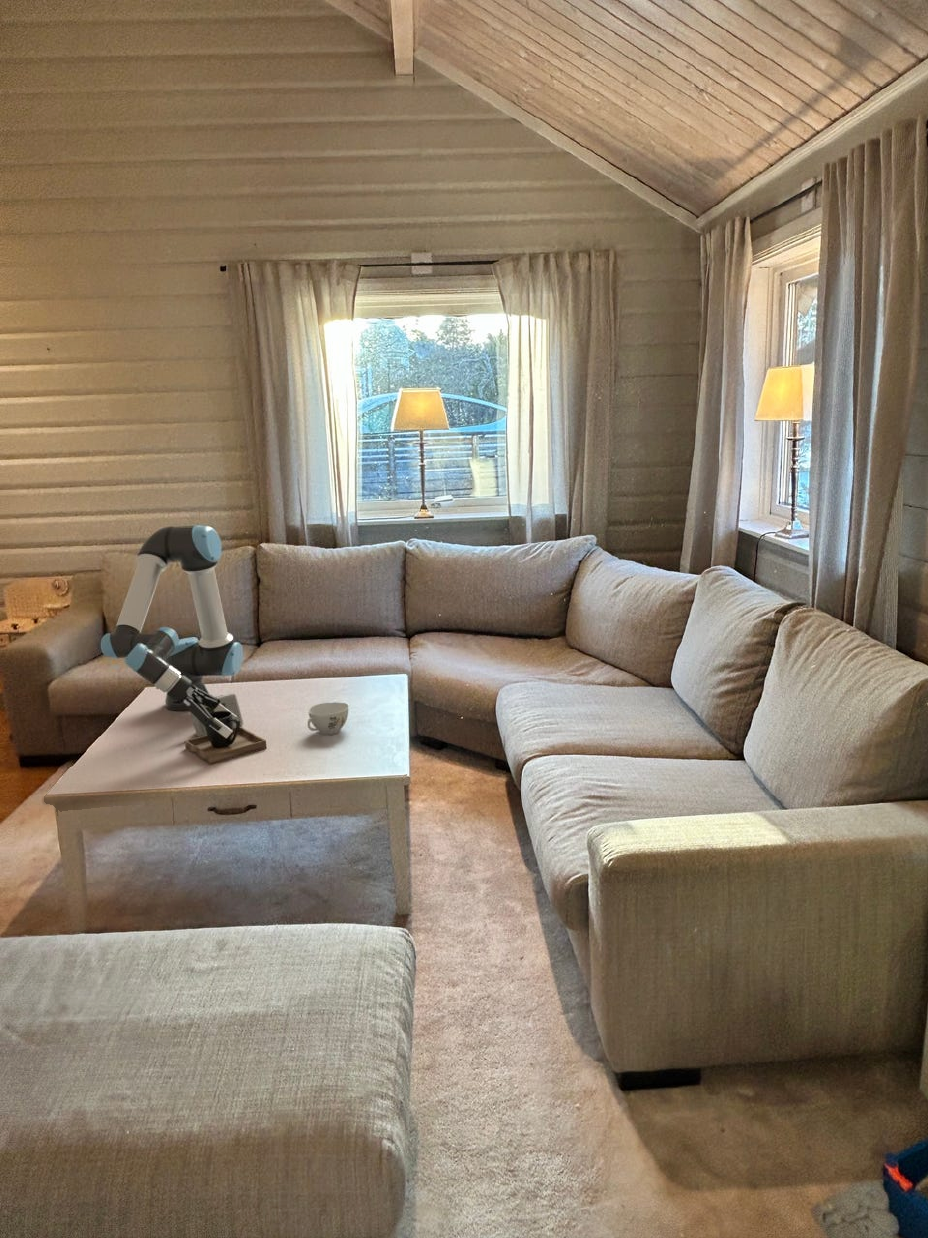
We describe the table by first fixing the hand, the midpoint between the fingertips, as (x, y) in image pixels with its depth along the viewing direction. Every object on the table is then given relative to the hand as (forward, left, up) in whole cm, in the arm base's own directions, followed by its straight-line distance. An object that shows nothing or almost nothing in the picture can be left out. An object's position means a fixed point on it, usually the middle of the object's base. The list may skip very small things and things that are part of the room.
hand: (231, 727), depth 268 cm
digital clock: (-18, +3, -7) cm, 20 cm away
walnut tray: (-1, -2, -7) cm, 7 cm away
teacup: (+10, +27, -7) cm, 29 cm away
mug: (-1, -2, -6) cm, 6 cm away
